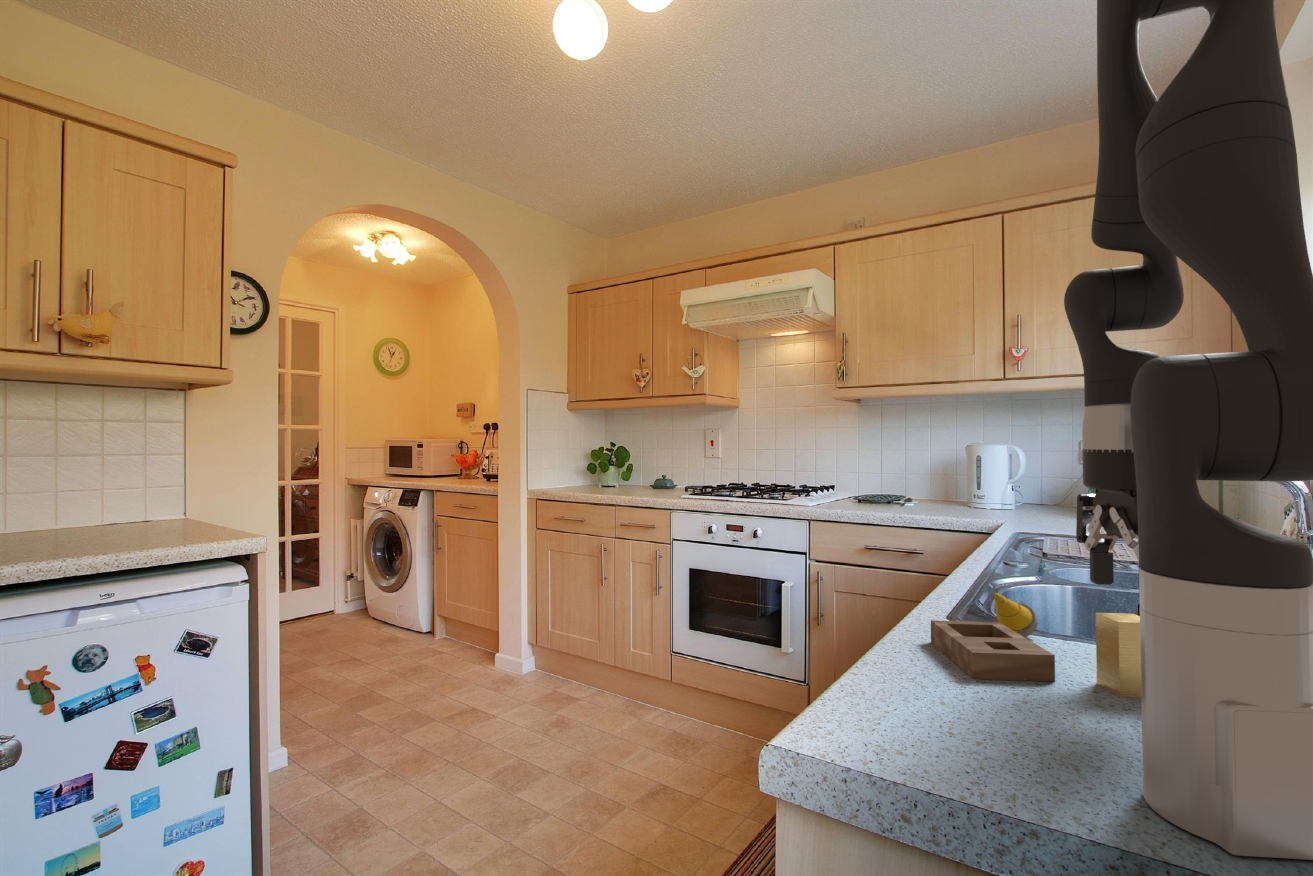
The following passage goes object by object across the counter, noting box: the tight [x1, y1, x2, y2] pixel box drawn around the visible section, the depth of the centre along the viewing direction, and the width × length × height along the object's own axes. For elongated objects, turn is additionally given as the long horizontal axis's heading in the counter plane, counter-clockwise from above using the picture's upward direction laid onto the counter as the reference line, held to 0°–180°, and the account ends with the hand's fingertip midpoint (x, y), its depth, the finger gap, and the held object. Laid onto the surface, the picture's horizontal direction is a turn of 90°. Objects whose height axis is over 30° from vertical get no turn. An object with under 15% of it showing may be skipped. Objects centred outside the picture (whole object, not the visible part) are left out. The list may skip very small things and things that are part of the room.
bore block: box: [930, 619, 1056, 683], centre depth 78 cm, size 14×9×3 cm, turn 175°
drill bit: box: [993, 592, 1039, 638], centre depth 87 cm, size 5×5×10 cm
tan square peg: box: [1095, 612, 1141, 699], centre depth 68 cm, size 4×4×8 cm
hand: (1125, 592), depth 68 cm, fingers open, 8 cm apart
